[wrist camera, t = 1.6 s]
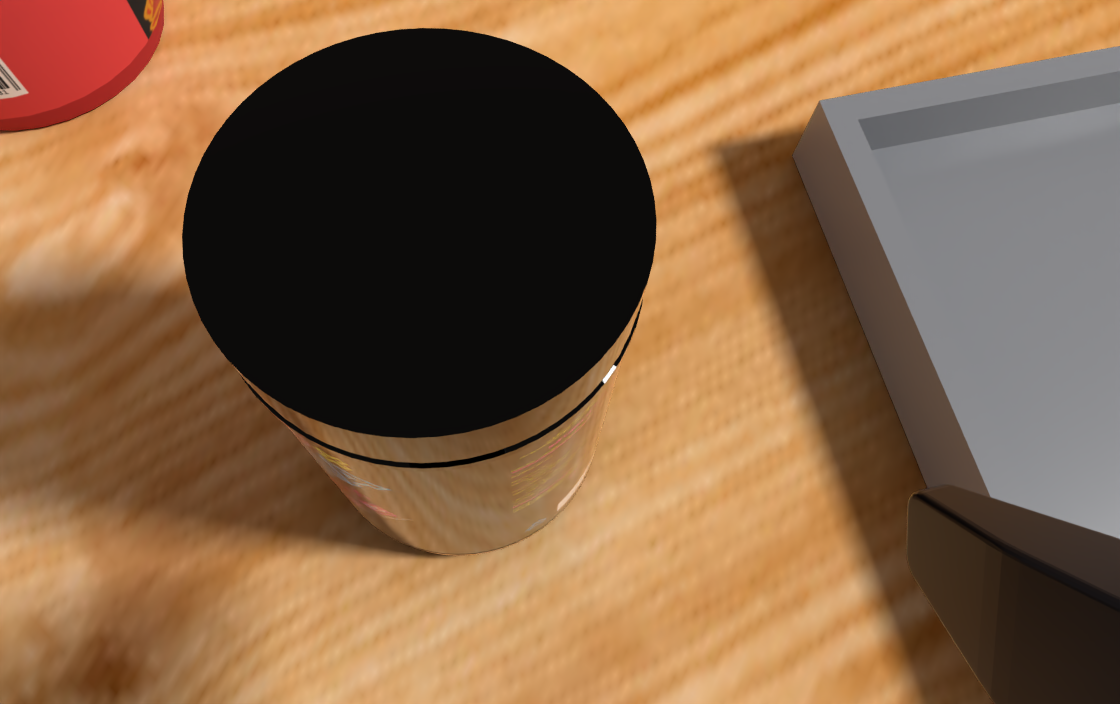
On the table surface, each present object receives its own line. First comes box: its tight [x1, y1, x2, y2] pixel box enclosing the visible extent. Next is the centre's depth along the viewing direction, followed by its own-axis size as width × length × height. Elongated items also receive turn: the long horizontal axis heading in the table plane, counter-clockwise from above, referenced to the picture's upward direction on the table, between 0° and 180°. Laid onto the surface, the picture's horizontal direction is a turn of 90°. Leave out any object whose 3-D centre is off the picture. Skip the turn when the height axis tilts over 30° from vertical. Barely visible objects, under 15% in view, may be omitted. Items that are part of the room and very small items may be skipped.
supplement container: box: [182, 28, 656, 556], centre depth 17 cm, size 7×7×10 cm
